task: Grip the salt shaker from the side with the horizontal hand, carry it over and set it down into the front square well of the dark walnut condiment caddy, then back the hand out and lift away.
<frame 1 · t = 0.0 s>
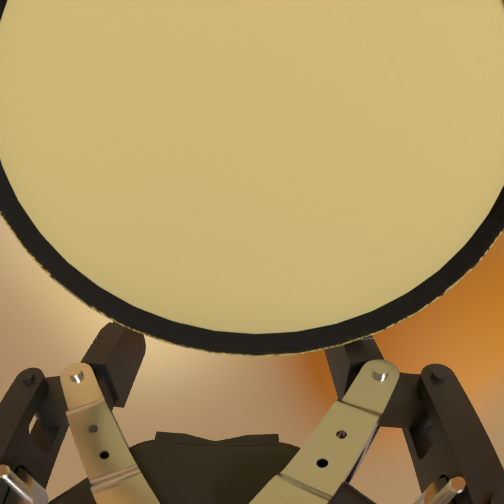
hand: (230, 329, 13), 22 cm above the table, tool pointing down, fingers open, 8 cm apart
cocktail glass: (253, 80, 28), on the table, touching gripper
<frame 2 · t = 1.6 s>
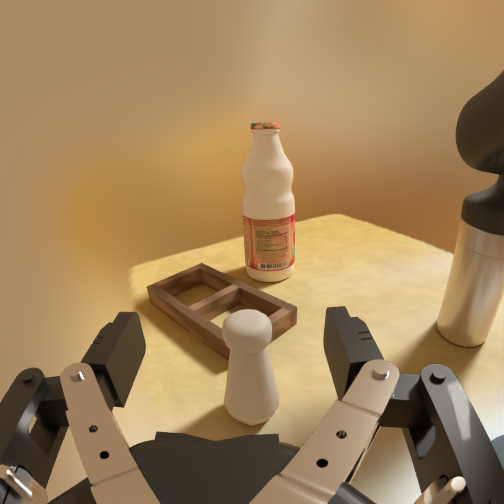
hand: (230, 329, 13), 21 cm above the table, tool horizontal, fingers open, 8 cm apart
salt shaker: (252, 412, 32), on the table
fruit juice: (270, 272, 62), on the table
caddy: (216, 312, 50), on the table
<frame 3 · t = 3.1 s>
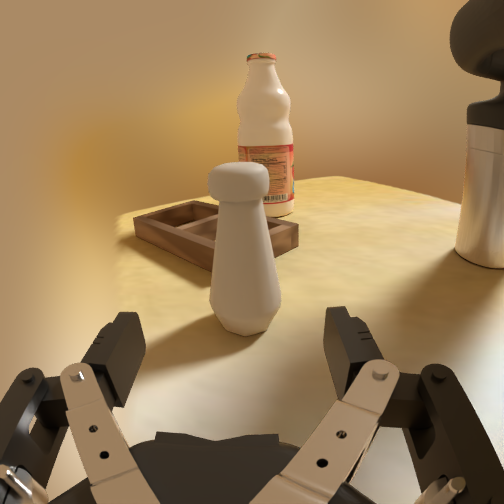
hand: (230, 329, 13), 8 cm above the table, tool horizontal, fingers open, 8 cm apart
salt shaker: (247, 323, 27), on the table
fruit juice: (268, 212, 57), on the table
caddy: (207, 240, 45), on the table
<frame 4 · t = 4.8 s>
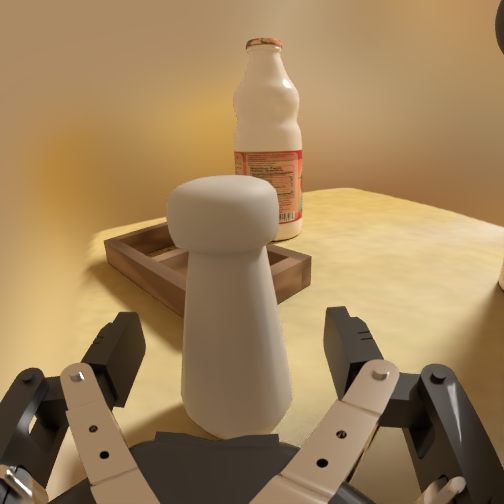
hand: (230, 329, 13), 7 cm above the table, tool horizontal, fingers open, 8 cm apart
salt shaker: (239, 419, 16), on the table
fruit juice: (270, 232, 47), on the table
caddy: (193, 272, 35), on the table
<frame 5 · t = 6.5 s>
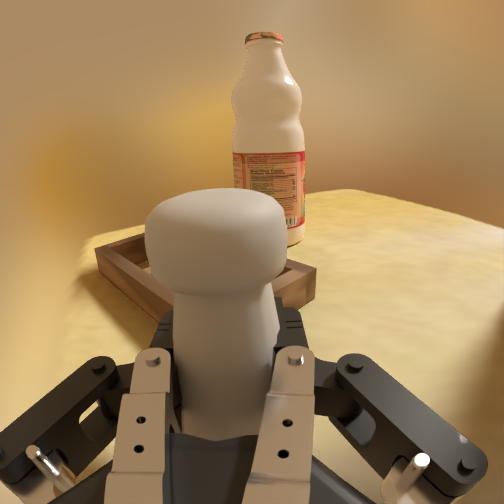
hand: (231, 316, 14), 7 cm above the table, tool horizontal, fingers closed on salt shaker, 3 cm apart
salt shaker: (239, 457, 14), on the table, touching gripper
fruit juice: (270, 238, 45), on the table
caddy: (188, 284, 32), on the table
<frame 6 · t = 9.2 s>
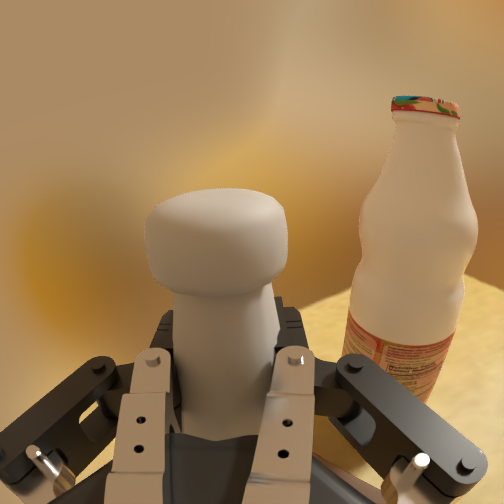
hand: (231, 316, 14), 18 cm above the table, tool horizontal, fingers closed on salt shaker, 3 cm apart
salt shaker: (239, 457, 14), point 10 cm above the table, touching gripper
fruit juice: (376, 408, 28), on the table
when the fingers open (8 cm above the table, at t = 11.9 s): salt shaker drops 1 cm, resting in caddy.
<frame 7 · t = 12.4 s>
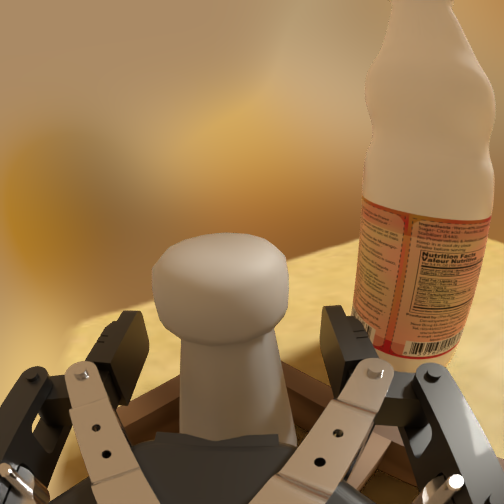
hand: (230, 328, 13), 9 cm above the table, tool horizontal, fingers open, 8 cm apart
salt shaker: (242, 471, 14), resting in caddy
fruit juice: (401, 347, 23), on the table
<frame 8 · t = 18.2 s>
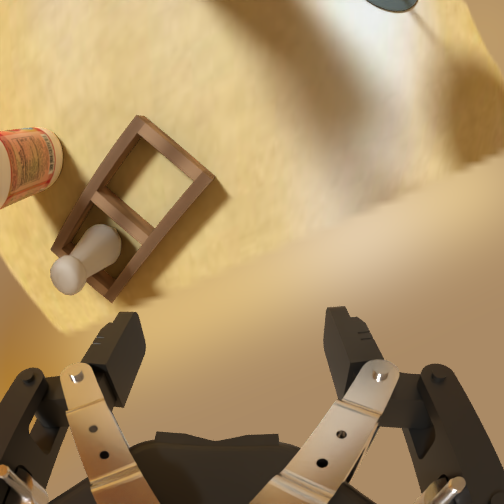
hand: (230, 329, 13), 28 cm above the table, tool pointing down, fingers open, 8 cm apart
salt shaker: (108, 238, 41), resting in caddy
fruit juice: (41, 158, 37), on the table
caddy: (127, 211, 40), on the table
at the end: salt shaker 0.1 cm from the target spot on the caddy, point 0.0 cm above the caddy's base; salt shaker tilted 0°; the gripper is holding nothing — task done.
